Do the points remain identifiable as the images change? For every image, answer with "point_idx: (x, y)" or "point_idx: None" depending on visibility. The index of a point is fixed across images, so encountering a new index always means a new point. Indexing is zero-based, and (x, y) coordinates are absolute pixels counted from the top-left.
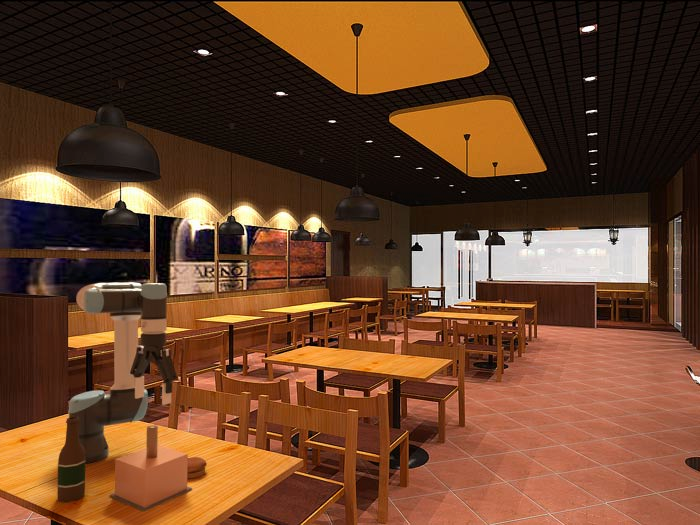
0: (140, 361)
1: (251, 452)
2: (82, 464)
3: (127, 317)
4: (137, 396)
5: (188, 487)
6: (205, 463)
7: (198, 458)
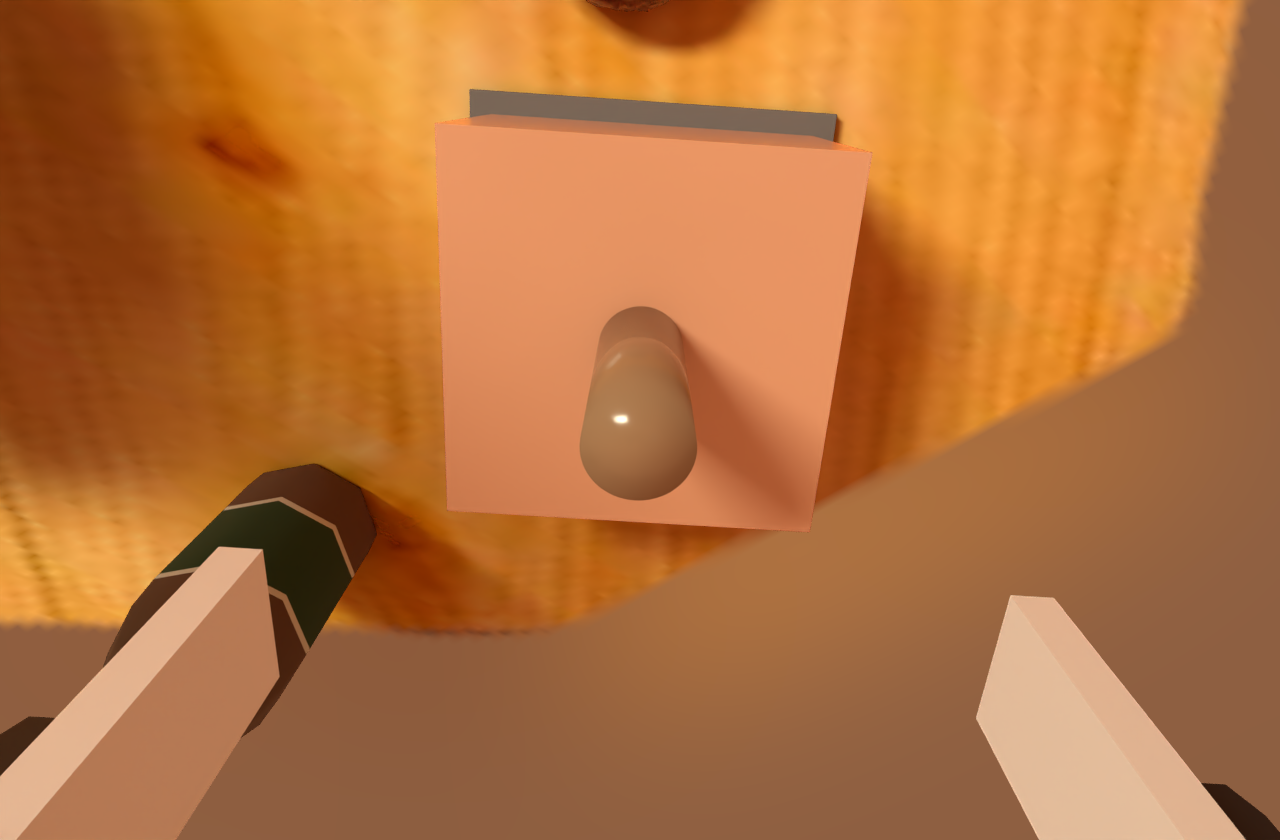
0: None
1: None
2: (299, 607)
3: None
4: (264, 681)
5: (811, 120)
6: None
7: None
